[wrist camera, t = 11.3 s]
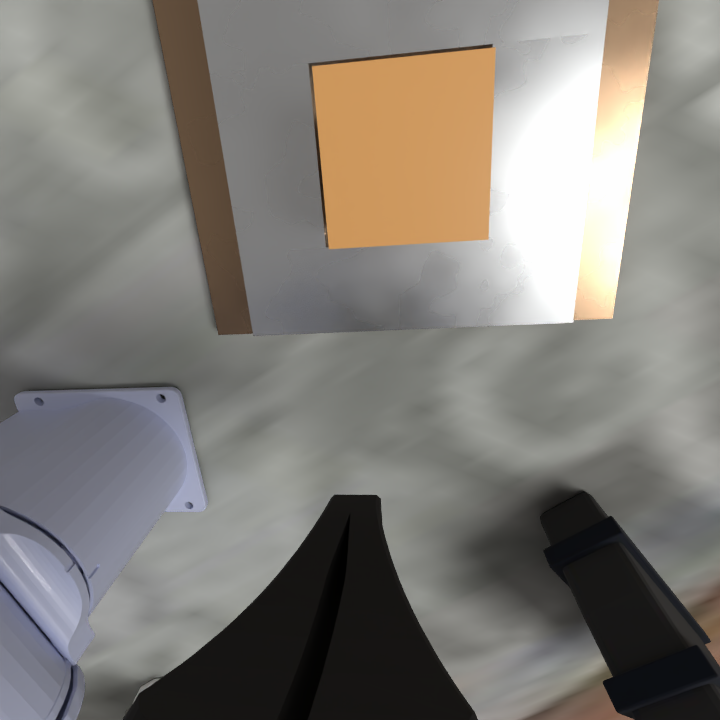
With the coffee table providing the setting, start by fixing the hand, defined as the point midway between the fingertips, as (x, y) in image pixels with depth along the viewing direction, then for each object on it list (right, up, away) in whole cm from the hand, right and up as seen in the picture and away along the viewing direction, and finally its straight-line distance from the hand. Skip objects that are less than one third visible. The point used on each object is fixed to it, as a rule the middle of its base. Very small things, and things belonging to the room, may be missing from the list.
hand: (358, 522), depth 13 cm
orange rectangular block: (+2, +12, +5) cm, 14 cm away
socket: (+2, +13, +6) cm, 15 cm away
